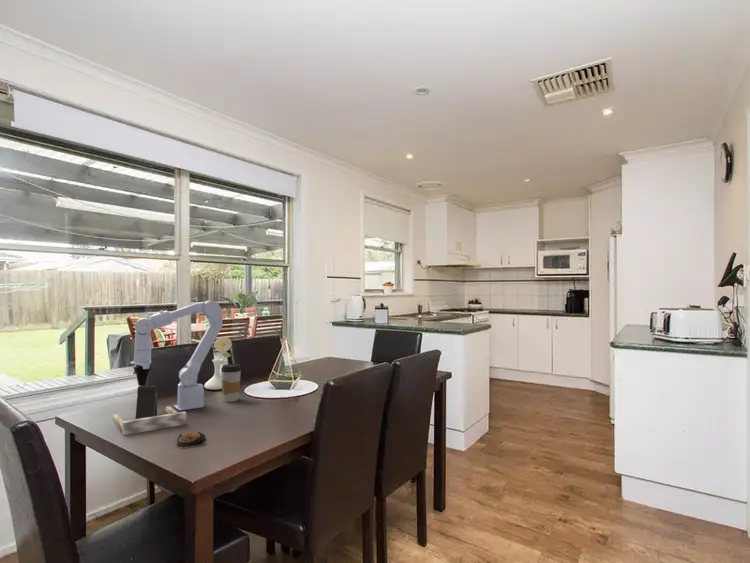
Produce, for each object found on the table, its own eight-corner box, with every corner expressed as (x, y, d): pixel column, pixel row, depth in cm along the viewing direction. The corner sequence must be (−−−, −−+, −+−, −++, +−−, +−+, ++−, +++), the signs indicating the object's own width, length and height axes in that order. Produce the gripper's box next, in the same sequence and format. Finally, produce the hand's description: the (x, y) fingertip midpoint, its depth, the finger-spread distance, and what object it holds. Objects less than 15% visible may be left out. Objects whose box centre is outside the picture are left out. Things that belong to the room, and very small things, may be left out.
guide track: (170, 410, 167) (170, 399, 167) (185, 424, 150) (186, 412, 150) (113, 418, 155) (113, 407, 155) (123, 435, 138) (123, 422, 138)
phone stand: (153, 421, 152) (154, 388, 153) (134, 423, 150) (135, 389, 151) (157, 414, 161) (158, 382, 161) (139, 416, 159) (140, 383, 159)
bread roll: (207, 447, 130) (208, 435, 130) (177, 451, 126) (178, 439, 126) (203, 436, 140) (203, 425, 140) (175, 440, 136) (175, 428, 136)
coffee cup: (244, 399, 184) (245, 364, 185) (228, 403, 177) (229, 367, 178) (232, 396, 189) (232, 362, 189) (216, 400, 182) (216, 365, 182)
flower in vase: (199, 390, 199) (200, 337, 200) (212, 385, 210) (213, 334, 211) (224, 392, 197) (226, 338, 198) (236, 386, 208) (238, 335, 209)
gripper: (127, 348, 167) (126, 383, 167) (134, 352, 156) (133, 390, 155) (147, 347, 171) (146, 380, 171) (155, 351, 160) (154, 387, 160)
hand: (141, 385), depth 164 cm, fingers closed
